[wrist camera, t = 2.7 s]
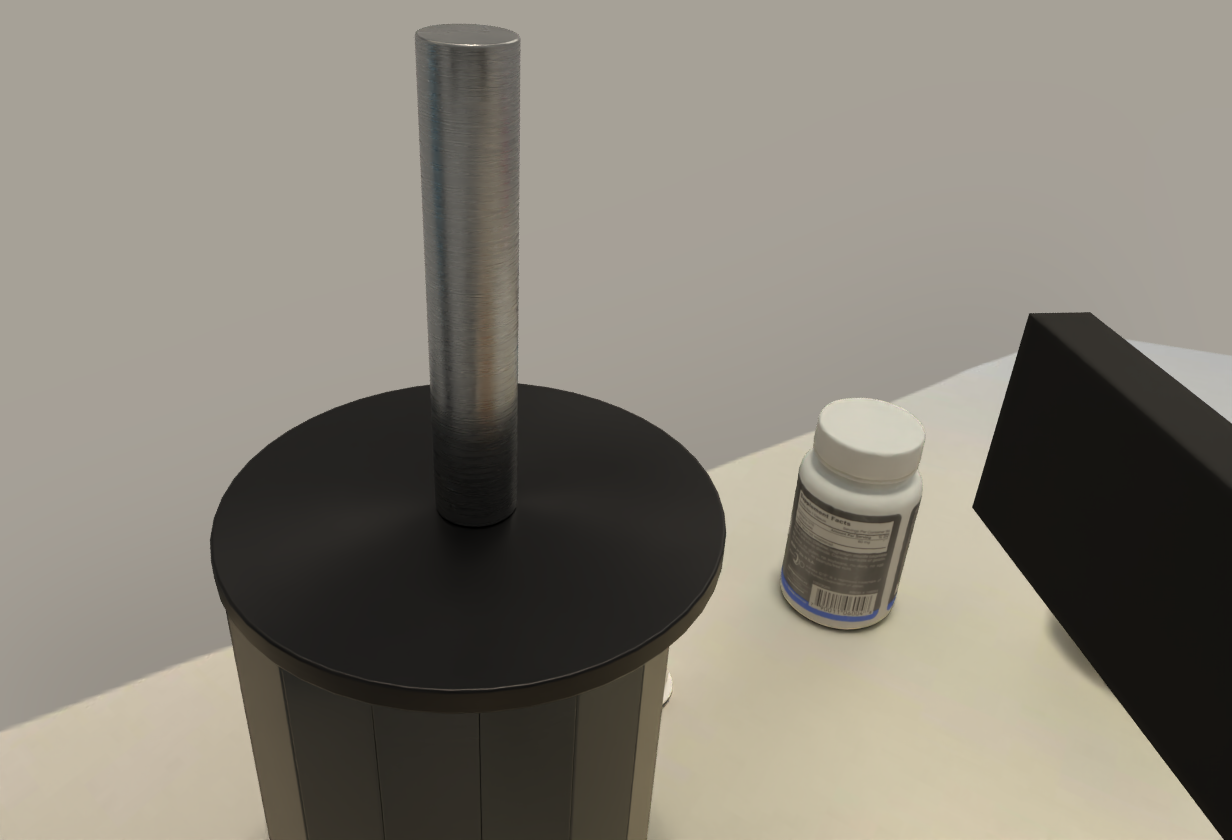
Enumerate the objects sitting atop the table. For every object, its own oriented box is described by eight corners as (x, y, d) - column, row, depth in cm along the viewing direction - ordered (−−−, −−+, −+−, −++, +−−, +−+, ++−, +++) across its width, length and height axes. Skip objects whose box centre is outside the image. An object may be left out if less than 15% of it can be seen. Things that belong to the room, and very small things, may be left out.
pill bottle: (826, 543, 45) (861, 379, 41) (915, 600, 42) (962, 430, 38) (754, 586, 42) (783, 415, 38) (844, 650, 39) (886, 472, 35)
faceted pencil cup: (322, 1131, 24) (248, 749, 17) (264, 798, 32) (197, 442, 25) (697, 974, 28) (761, 607, 21) (563, 710, 36) (577, 379, 29)
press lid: (255, 817, 17) (122, 150, 11) (194, 462, 25) (102, -18, 20) (817, 646, 21) (937, 99, 15) (602, 391, 30) (627, -21, 24)
